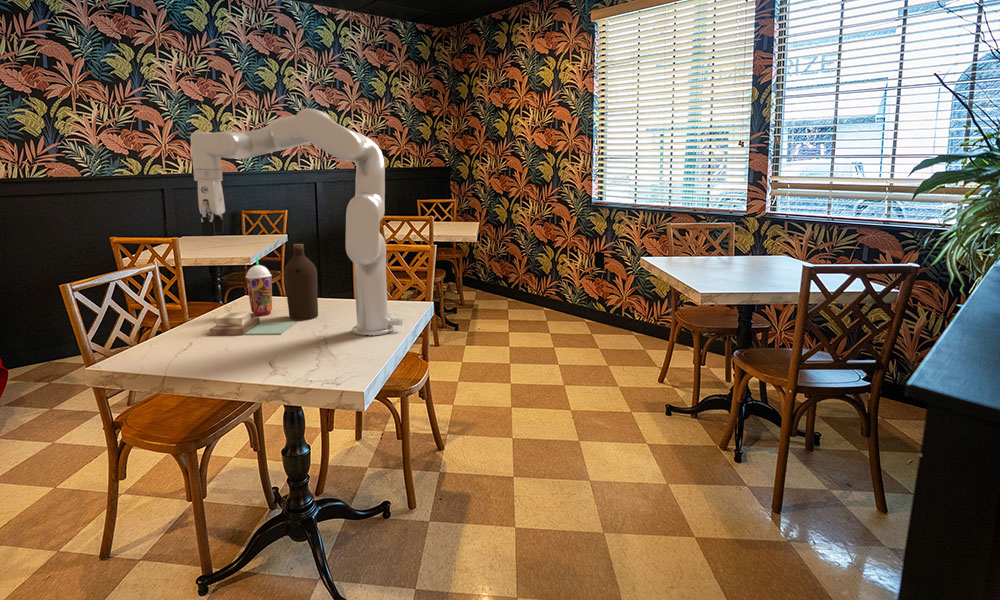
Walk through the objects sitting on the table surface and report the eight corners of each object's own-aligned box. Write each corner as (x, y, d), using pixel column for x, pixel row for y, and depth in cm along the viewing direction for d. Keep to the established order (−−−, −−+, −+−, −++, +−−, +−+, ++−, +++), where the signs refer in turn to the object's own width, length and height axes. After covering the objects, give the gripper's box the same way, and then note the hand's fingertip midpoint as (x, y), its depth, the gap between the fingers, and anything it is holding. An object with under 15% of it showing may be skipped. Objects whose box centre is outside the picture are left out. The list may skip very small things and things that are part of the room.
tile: (250, 320, 192) (250, 312, 191) (242, 325, 185) (241, 317, 185) (225, 320, 192) (225, 312, 191) (216, 326, 185) (215, 318, 184)
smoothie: (266, 317, 204) (261, 259, 199) (244, 316, 205) (238, 258, 201) (279, 311, 212) (274, 255, 207) (257, 310, 213) (252, 255, 209)
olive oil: (325, 317, 203) (320, 244, 198) (294, 322, 196) (288, 247, 191) (312, 311, 211) (307, 241, 206) (282, 316, 205) (276, 244, 199)
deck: (260, 323, 196) (259, 317, 195) (243, 334, 182) (242, 328, 182) (229, 323, 196) (228, 317, 195) (210, 335, 182) (209, 328, 181)
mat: (295, 322, 196) (295, 321, 196) (281, 334, 182) (281, 333, 182) (261, 323, 196) (261, 322, 196) (245, 334, 182) (244, 333, 182)
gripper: (213, 176, 167) (219, 237, 171) (229, 175, 184) (234, 230, 188) (184, 176, 166) (191, 237, 170) (203, 175, 183) (208, 231, 186)
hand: (213, 233), depth 179 cm, fingers open, 9 cm apart
